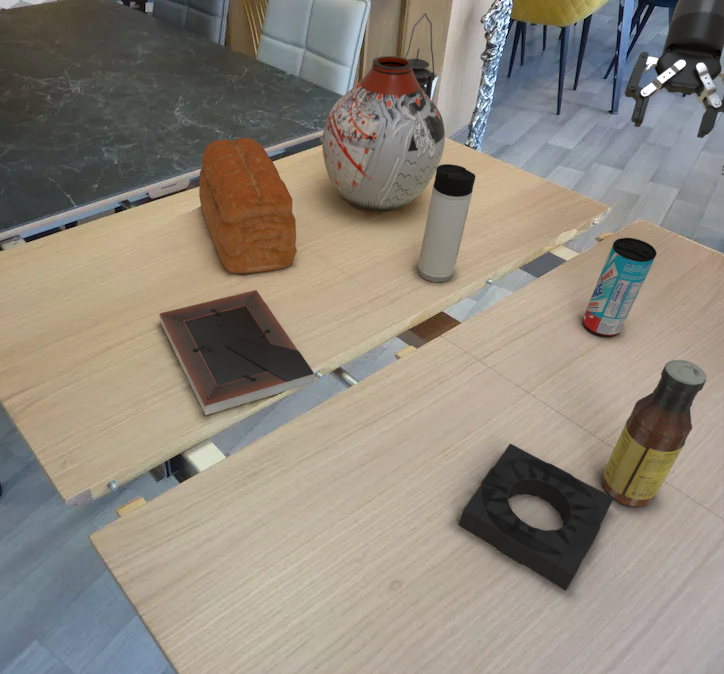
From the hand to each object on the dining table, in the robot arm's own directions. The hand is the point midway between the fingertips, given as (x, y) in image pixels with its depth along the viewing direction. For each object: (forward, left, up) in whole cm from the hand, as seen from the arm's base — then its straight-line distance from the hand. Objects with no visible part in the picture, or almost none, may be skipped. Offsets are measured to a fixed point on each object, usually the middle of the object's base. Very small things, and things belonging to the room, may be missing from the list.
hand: (669, 130), depth 97 cm
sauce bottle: (-16, +41, -29) cm, 53 cm away
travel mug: (+25, +15, -29) cm, 41 cm away
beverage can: (-3, +11, -29) cm, 31 cm away
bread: (+59, +27, -29) cm, 71 cm away
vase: (+47, 0, -29) cm, 55 cm away
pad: (-9, +53, -29) cm, 61 cm away
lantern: (+55, -25, -29) cm, 67 cm away
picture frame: (+38, +54, -29) cm, 72 cm away
